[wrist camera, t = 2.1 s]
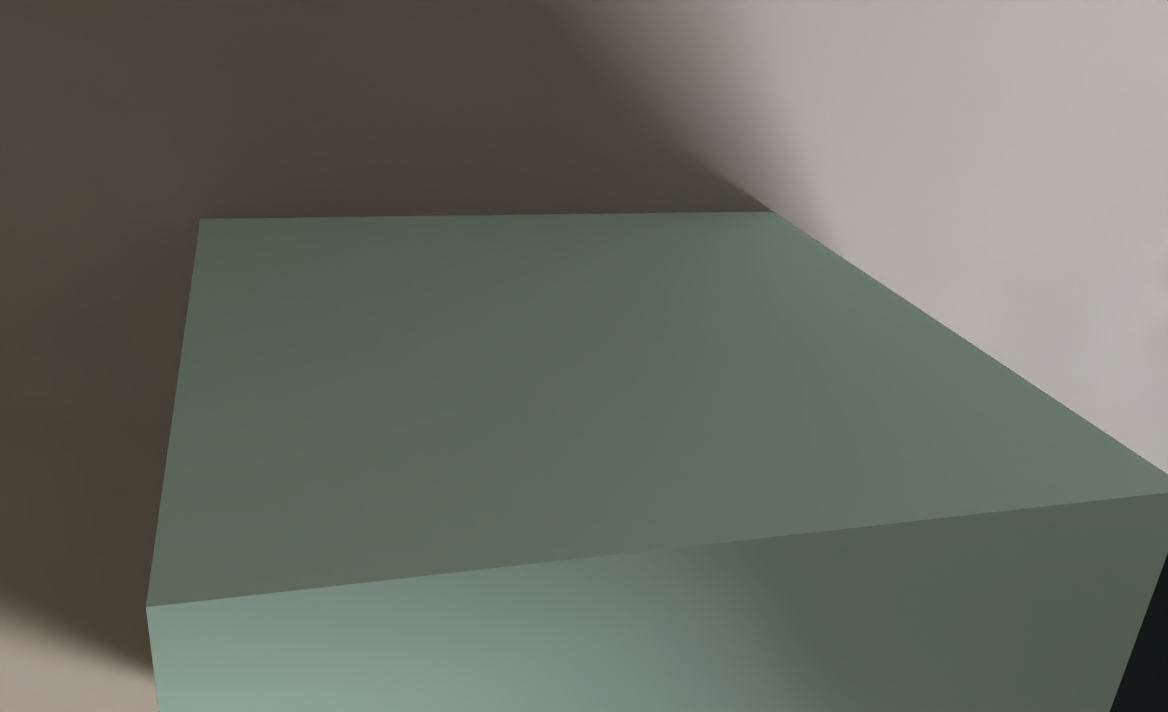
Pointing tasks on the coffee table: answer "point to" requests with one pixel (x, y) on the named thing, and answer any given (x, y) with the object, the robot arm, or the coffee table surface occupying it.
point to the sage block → (621, 482)
